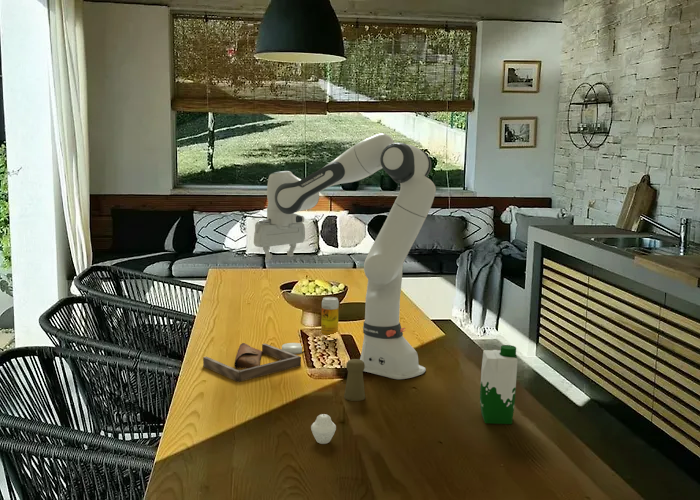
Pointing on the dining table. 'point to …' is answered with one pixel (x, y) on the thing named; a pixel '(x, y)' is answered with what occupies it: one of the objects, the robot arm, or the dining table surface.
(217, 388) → the dining table surface
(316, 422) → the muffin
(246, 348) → the sunglasses case
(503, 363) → the milk carton
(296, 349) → the ring dish
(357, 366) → the pepper mill
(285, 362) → the open wooden frame
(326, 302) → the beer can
